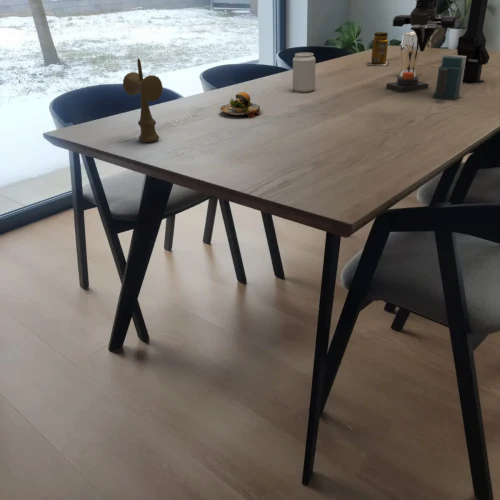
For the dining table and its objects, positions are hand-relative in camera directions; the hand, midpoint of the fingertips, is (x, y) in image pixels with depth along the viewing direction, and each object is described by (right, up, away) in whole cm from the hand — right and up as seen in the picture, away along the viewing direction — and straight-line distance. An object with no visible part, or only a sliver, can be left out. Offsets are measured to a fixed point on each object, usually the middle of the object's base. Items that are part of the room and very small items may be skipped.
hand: (422, 51), depth 162 cm
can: (-35, -8, +15) cm, 39 cm away
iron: (+8, -8, -2) cm, 12 cm away
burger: (-57, -22, -9) cm, 61 cm away
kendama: (-80, -34, -29) cm, 92 cm away
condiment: (0, +15, +54) cm, 56 cm away
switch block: (-1, -8, +12) cm, 14 cm away
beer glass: (+4, +1, +29) cm, 29 cm away
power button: (-1, -5, +11) cm, 12 cm away
